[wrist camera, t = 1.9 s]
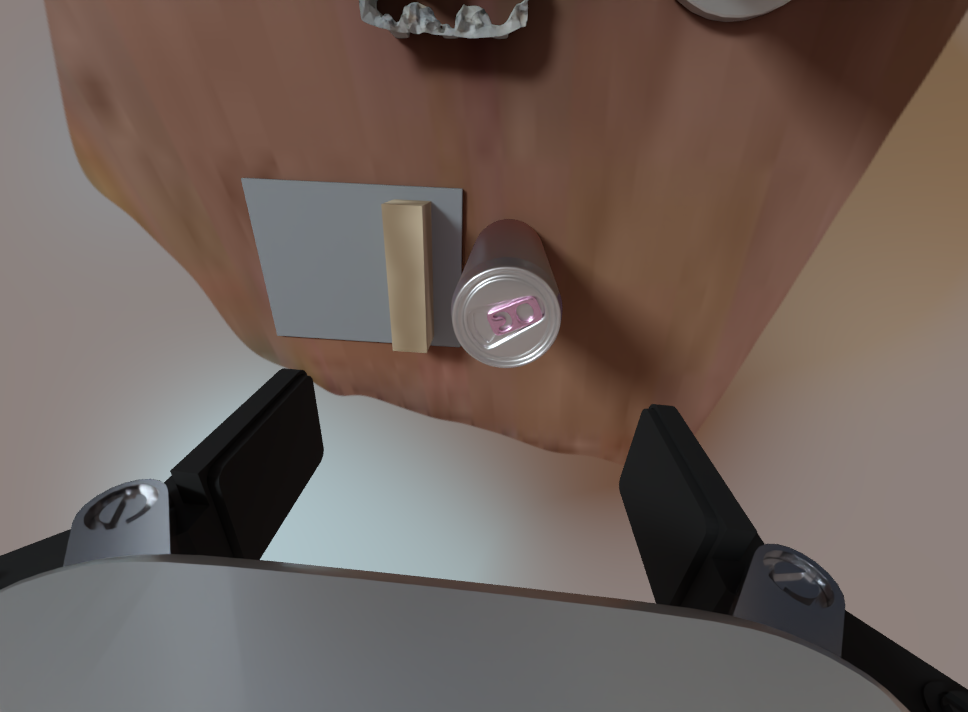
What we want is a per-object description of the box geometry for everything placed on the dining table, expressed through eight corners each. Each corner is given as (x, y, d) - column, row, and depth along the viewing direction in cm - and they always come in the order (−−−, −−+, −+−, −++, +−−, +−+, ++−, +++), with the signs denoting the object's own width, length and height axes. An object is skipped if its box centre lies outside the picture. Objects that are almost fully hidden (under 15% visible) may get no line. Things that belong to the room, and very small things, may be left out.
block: (431, 201, 31) (422, 206, 28) (434, 336, 36) (426, 352, 33) (394, 199, 31) (381, 203, 28) (402, 334, 36) (392, 350, 33)
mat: (462, 188, 31) (462, 189, 30) (460, 345, 37) (460, 347, 37) (243, 178, 31) (240, 178, 31) (279, 333, 38) (277, 335, 37)
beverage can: (552, 272, 33) (580, 350, 20) (490, 297, 35) (476, 385, 21) (528, 205, 31) (541, 242, 18) (462, 235, 32) (427, 290, 19)
